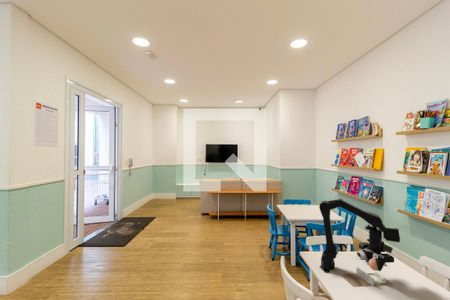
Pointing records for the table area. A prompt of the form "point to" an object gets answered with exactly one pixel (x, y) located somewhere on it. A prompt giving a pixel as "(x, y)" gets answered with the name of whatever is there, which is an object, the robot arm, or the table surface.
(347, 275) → the fence board
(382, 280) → the ring
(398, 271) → the table surface
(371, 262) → the rubber ball
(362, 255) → the robot toy
